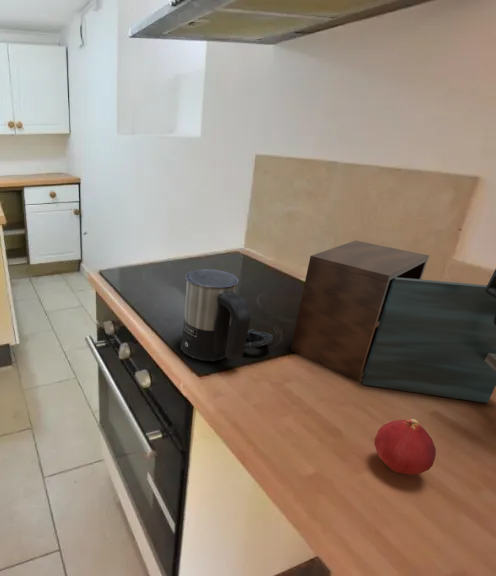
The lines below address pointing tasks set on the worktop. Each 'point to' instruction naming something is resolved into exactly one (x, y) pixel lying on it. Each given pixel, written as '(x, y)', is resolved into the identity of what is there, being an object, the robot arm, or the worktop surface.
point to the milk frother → (217, 318)
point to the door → (436, 340)
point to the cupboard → (348, 302)
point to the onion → (405, 447)
